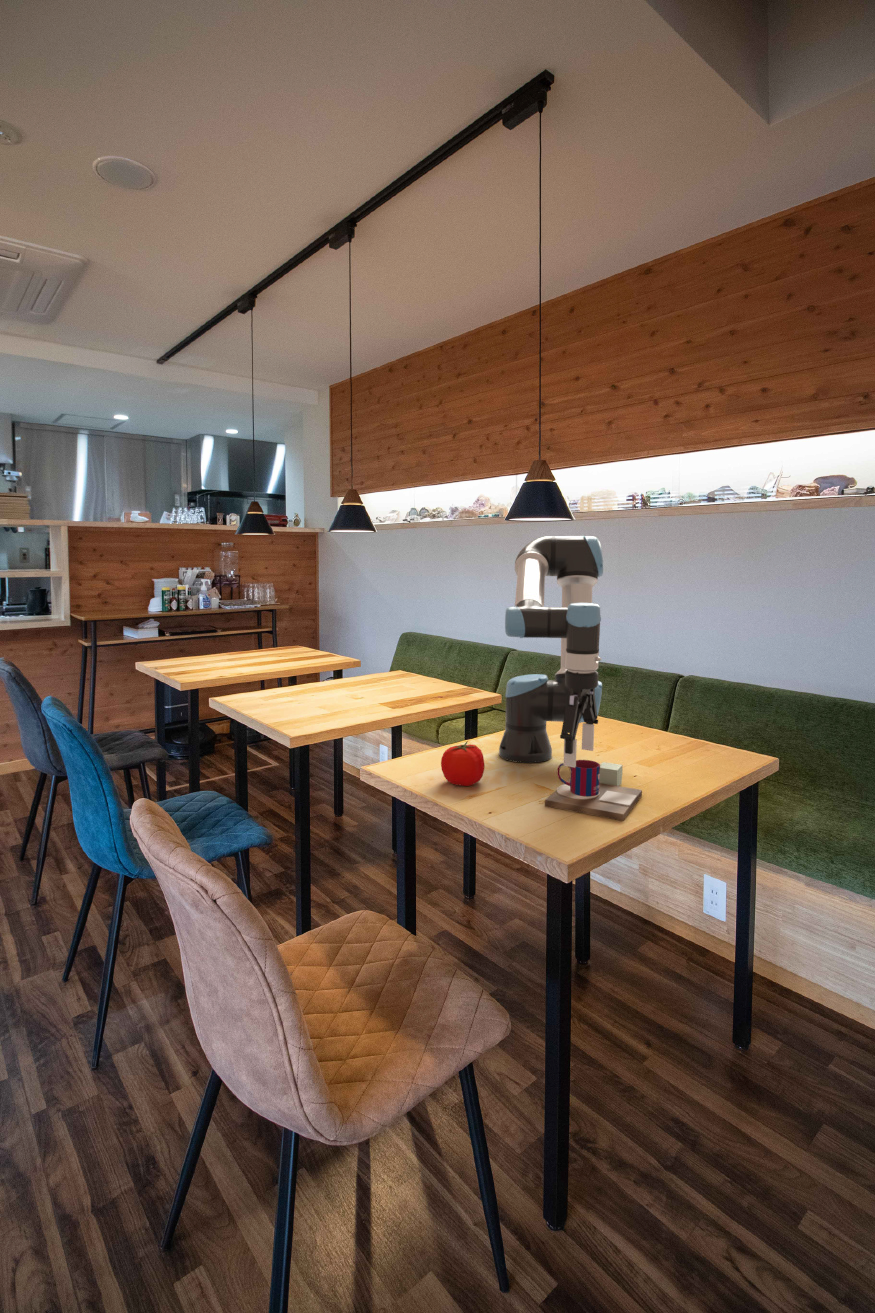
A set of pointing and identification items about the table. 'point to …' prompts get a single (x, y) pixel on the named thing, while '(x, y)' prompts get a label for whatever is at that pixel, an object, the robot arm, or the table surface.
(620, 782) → the pale sage green cube
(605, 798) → the board
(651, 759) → the table surface
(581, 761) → the mug
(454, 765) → the tomato
